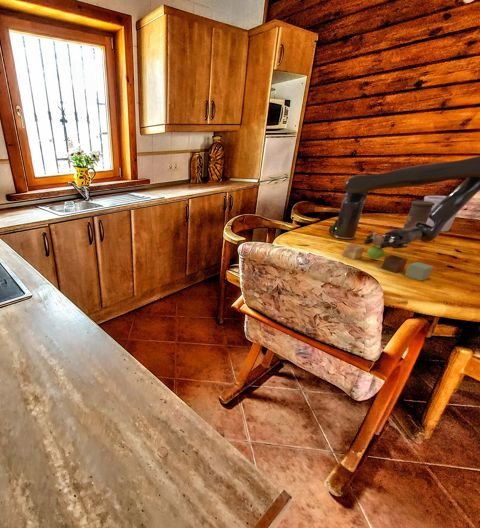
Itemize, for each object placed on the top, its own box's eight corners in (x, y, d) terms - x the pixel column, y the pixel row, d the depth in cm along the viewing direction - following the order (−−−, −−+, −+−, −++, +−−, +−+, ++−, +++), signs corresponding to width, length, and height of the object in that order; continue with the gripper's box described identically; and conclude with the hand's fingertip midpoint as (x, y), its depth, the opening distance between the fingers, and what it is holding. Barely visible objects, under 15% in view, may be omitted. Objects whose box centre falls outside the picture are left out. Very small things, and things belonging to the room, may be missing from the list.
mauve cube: (342, 255, 129) (345, 245, 127) (349, 254, 131) (352, 244, 129) (353, 259, 125) (356, 249, 123) (361, 257, 127) (364, 247, 125)
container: (420, 234, 151) (432, 201, 144) (424, 238, 144) (438, 204, 137) (398, 232, 156) (409, 200, 149) (401, 236, 149) (413, 203, 142)
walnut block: (381, 268, 115) (385, 257, 113) (389, 266, 117) (393, 255, 115) (395, 272, 111) (399, 261, 109) (403, 270, 113) (407, 259, 111)
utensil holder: (427, 224, 167) (438, 194, 160) (458, 230, 153) (472, 198, 146) (406, 226, 165) (417, 196, 158) (436, 233, 151) (449, 201, 144)
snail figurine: (374, 255, 123) (381, 229, 118) (385, 260, 117) (393, 233, 112) (361, 255, 123) (368, 229, 119) (371, 261, 117) (379, 234, 113)
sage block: (404, 275, 109) (409, 264, 107) (412, 273, 110) (417, 261, 108) (420, 280, 104) (425, 268, 102) (428, 278, 106) (433, 266, 104)
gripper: (383, 225, 126) (357, 231, 121) (423, 233, 114) (396, 240, 109) (378, 241, 129) (353, 247, 124) (416, 250, 117) (390, 257, 112)
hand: (373, 243), depth 117 cm, fingers closed on snail figurine, 5 cm apart
